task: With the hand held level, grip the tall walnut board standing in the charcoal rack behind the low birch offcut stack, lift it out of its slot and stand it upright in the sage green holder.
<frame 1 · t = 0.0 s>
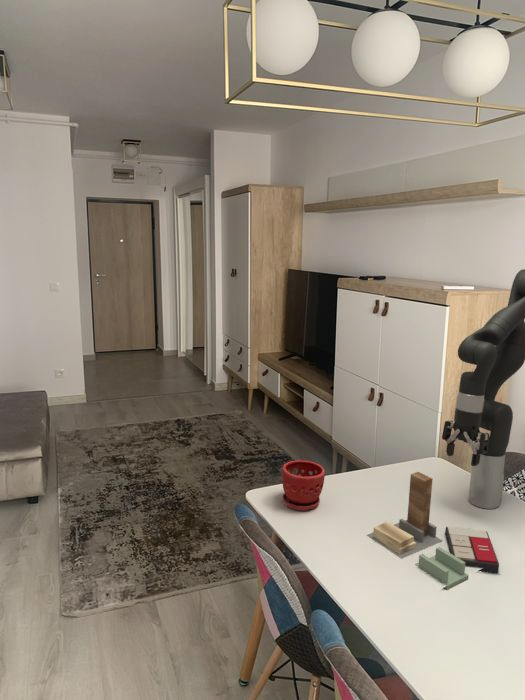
hand: (461, 460, 161), 17 cm above the table, tool pointing down, fingers open, 8 cm apart
tall board: (417, 532, 151), point 1 cm above the table, touching rack
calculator: (469, 556, 143), on the table
plant pot: (302, 504, 169), on the table
offcut stack: (393, 542, 146), point 1 cm above the table, touching rack
board holder: (440, 574, 135), on the table
rack: (404, 541, 149), on the table
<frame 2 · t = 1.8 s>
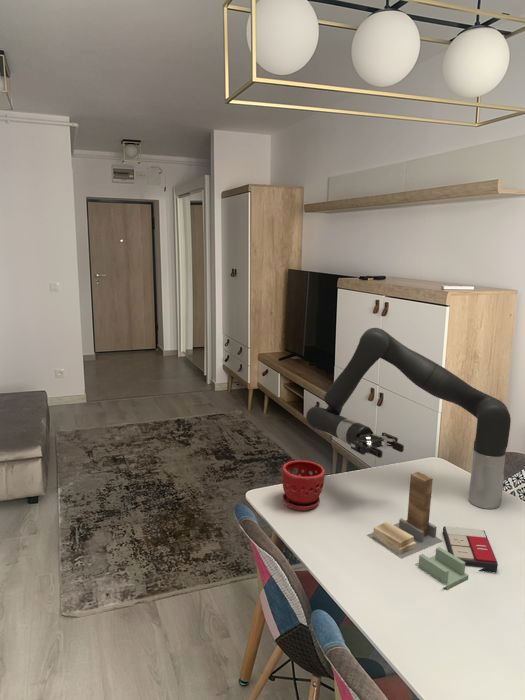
hand: (392, 451, 156), 21 cm above the table, tool horizontal, fingers open, 8 cm apart
nothing on the table moved.
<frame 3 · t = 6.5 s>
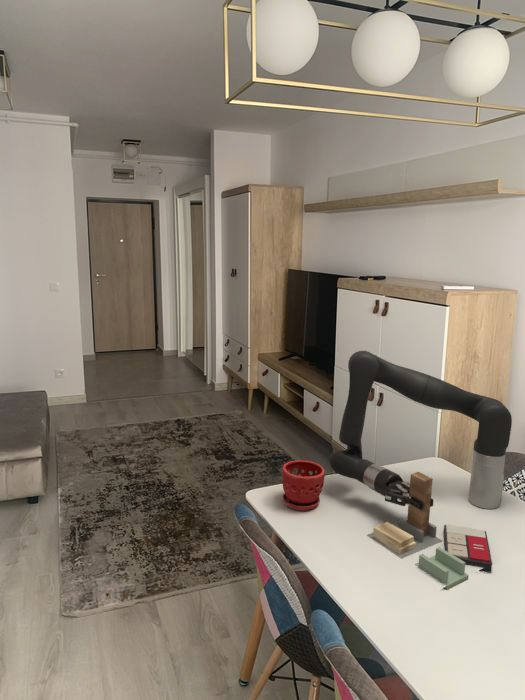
hand: (427, 504, 147), 11 cm above the table, tool horizontal, fingers closed on tall board, 3 cm apart
tall board: (417, 532, 151), point 1 cm above the table, touching gripper, rack
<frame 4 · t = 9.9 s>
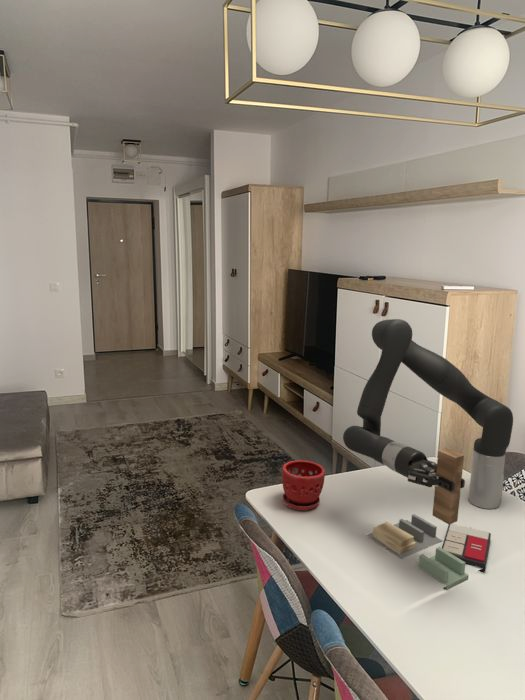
hand: (458, 485, 127), 25 cm above the table, tool horizontal, fingers closed on tall board, 3 cm apart
tall board: (444, 518, 132), point 15 cm above the table, touching gripper
when the fingers open (12 cm above the table, at t = 13.7 s): tall board stays where it is, resting on board holder.
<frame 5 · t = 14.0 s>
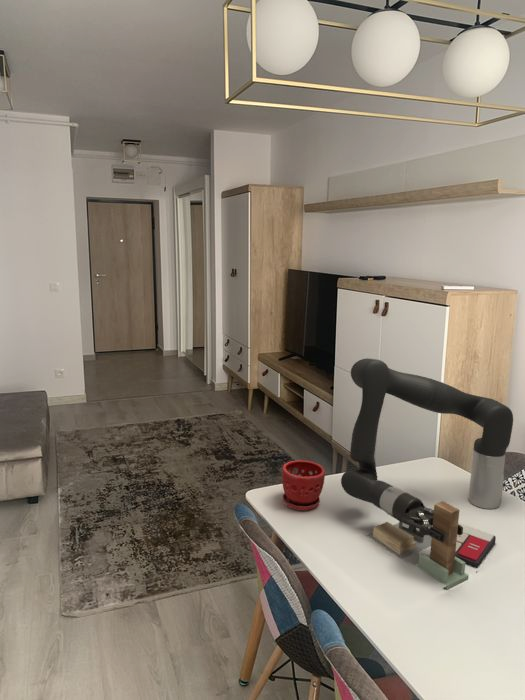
hand: (453, 534, 130), 12 cm above the table, tool horizontal, fingers open, 5 cm apart
tall board: (441, 569, 134), point 1 cm above the table, touching board holder
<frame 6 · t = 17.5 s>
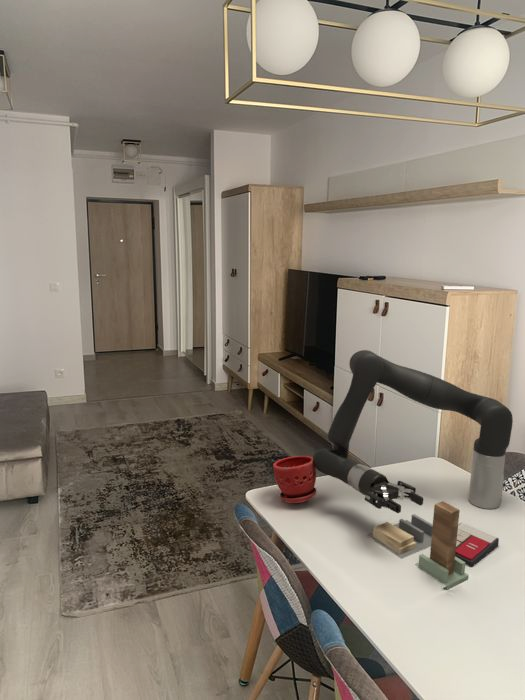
hand: (411, 505, 141), 14 cm above the table, tool horizontal, fingers open, 8 cm apart
plant pot: (300, 498, 170), point 1 cm above the table
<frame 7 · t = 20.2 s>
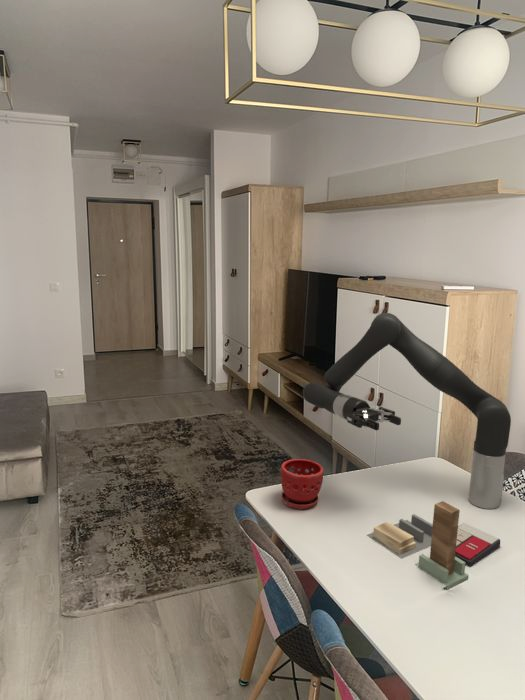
hand: (389, 424, 153), 30 cm above the table, tool horizontal, fingers open, 8 cm apart
plant pot: (300, 502, 170), on the table
at the end: tall board inside the target area on the board holder (0.0 cm from its centre), point 1.2 cm above the board holder's base; tall board tilted 0°; the gripper is holding nothing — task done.
